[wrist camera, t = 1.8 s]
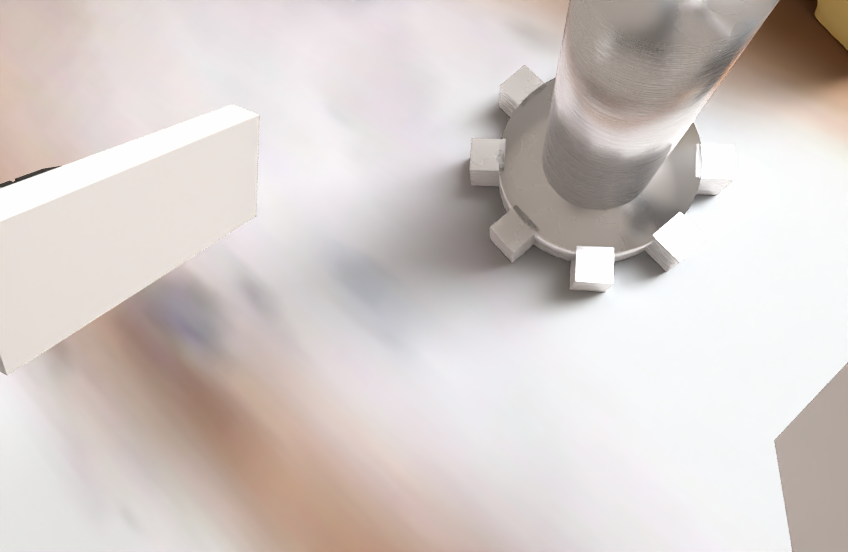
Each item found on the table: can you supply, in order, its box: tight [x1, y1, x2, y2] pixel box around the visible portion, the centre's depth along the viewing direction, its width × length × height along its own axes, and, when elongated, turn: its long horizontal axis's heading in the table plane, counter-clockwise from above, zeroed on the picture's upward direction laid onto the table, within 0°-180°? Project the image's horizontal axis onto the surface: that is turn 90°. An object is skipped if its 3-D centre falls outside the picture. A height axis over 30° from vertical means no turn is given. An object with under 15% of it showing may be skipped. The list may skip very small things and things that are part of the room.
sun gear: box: [469, 0, 779, 292], centre depth 20 cm, size 12×12×14 cm
